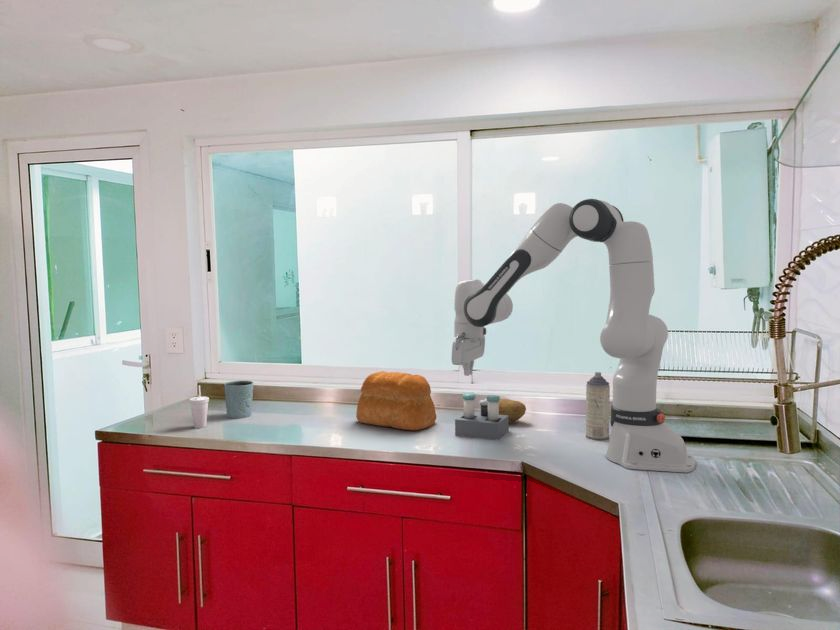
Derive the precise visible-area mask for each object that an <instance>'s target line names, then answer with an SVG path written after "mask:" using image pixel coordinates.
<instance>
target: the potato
mask: <svg viewBox="0 0 840 630" xmlns="http://www.w3.org/2000/svg"><path fill="white" fill-rule="evenodd" d="M526 410H527V407H526V405H525V403H523V402H521V401H518V400H512V399H508V398H500V401H499V415H509V423H515V422H517V421H519V420H520V419H521V418H523V417H524V415H525V414H526Z"/></svg>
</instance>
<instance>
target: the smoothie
mask: <svg viewBox="0 0 840 630" xmlns="http://www.w3.org/2000/svg"><path fill="white" fill-rule="evenodd" d="M201 395H202V393H201V385H198V396H193V397H191V398H189V400H188V403H189V404H190V405H189V406H190V410H191V415H192V421H193V426H194V428H195V429H203V428H205V427H207V420H208V411H209V407H208V406H209V402H210V398H209V397H208V396H201Z"/></svg>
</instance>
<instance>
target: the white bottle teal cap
mask: <svg viewBox="0 0 840 630" xmlns="http://www.w3.org/2000/svg"><path fill="white" fill-rule="evenodd" d="M500 397H501V396H499V395H495V394H494V395H493V394H492V395H490V394H489V395H487V396H486V399H487V401H488V420H490V421H497V420H499V401H500Z"/></svg>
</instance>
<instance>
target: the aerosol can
mask: <svg viewBox="0 0 840 630" xmlns="http://www.w3.org/2000/svg"><path fill="white" fill-rule="evenodd" d="M585 388H586V389H585V390H586V392H585V395H586V396H585V398H586V399H585V402H586V403H585V437H586V439H589V440H592V441H607V440H610V396H611V395H610V391H611V389H610V388H611V387H610V382H608V381H607V379H606V378H604V377H603V376H602V372H600V371H599V372H598V371H595V372H594V376H592V377H591V378H590V379H589V380H588V381H586V385H585Z"/></svg>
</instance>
